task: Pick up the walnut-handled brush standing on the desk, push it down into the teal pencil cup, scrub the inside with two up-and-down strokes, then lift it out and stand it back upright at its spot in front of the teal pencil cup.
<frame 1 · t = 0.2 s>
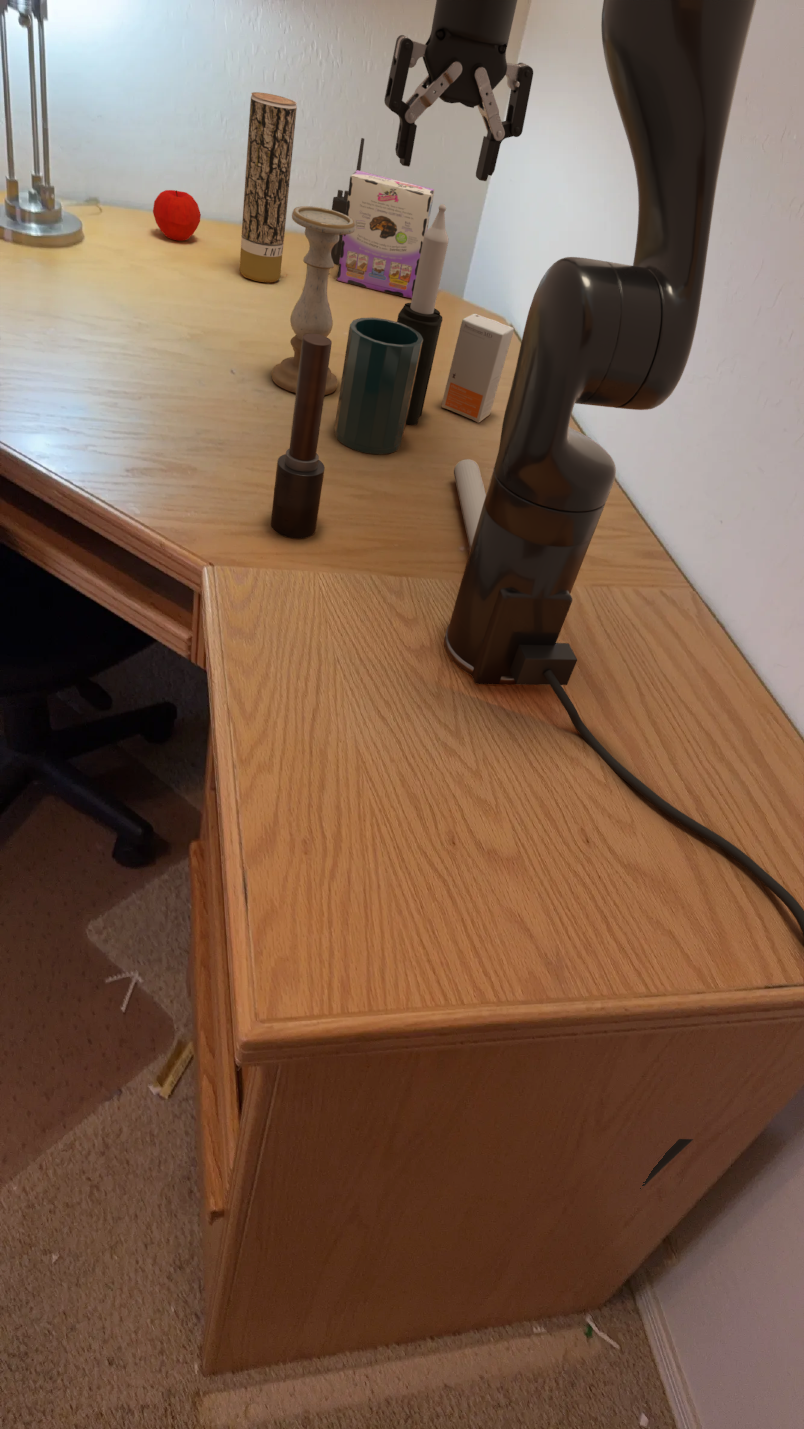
hand: (443, 171, 92), 29 cm above the table, tool pointing down, fingers open, 8 cm apart
teal pencil cup: (367, 438, 109), on the table
candy box: (376, 287, 155), on the table
apple: (176, 239, 153), on the table
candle: (400, 415, 116), on the table
cosmetic box: (465, 413, 121), on the table
walkie-talkie: (339, 263, 162), on the table
paper tube: (259, 277, 146), on the table
brush: (293, 526, 90), on the table
candle holder: (304, 384, 118), on the table
tube: (475, 539, 96), on the table
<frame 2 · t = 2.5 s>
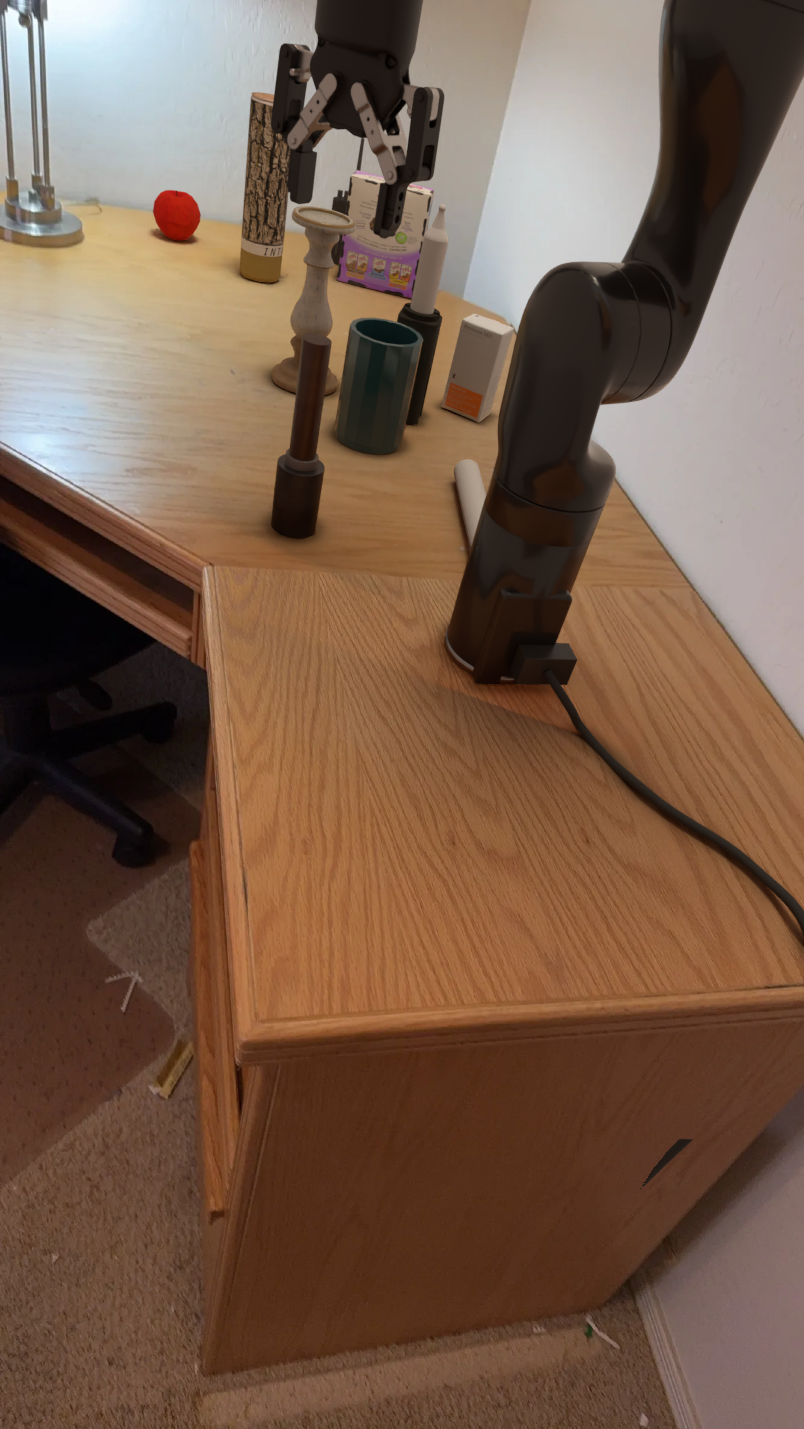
hand: (341, 218, 72), 28 cm above the table, tool pointing down, fingers open, 8 cm apart
nothing on the table moved.
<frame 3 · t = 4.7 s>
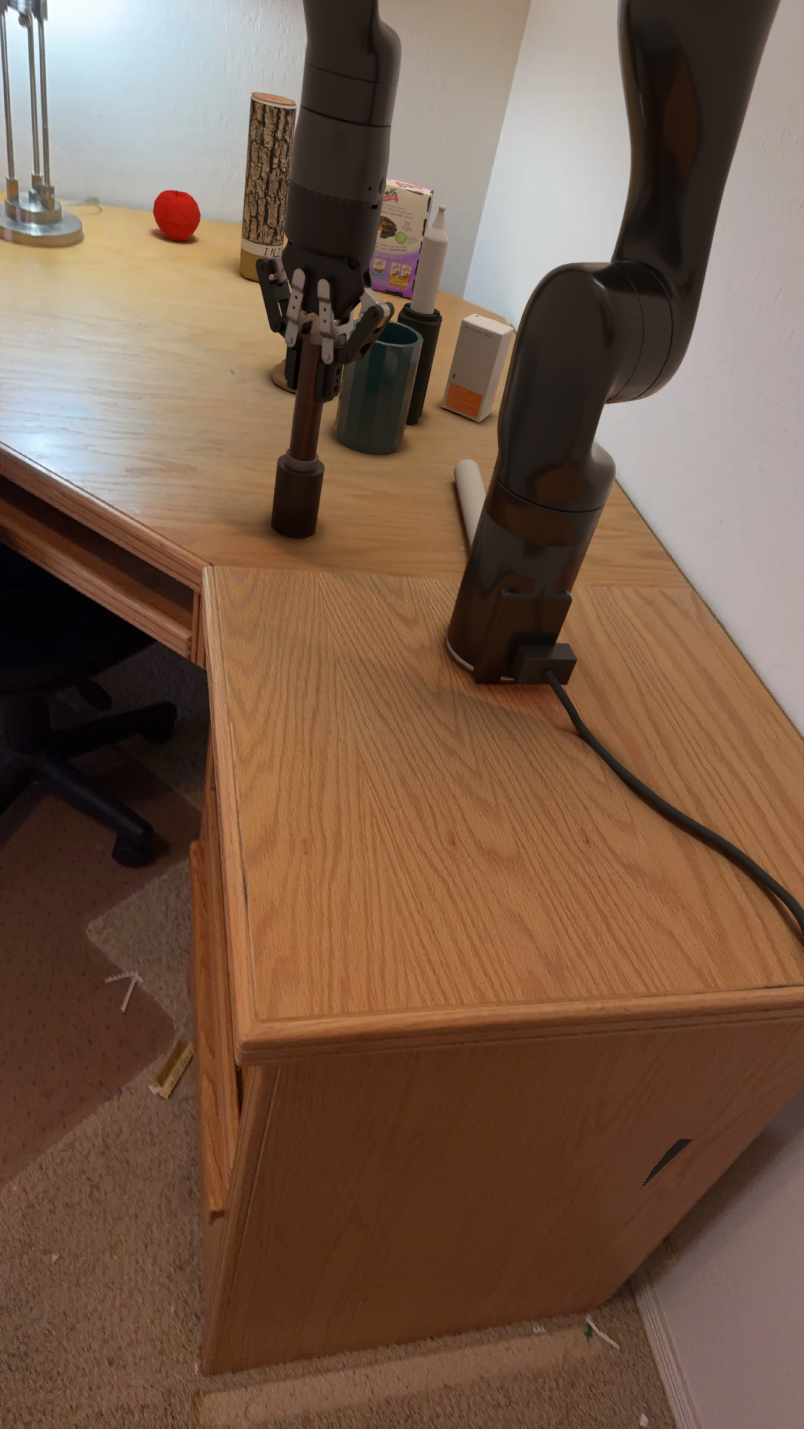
hand: (310, 393, 81), 14 cm above the table, tool pointing down, fingers closed on brush, 2 cm apart
brush: (293, 526, 90), on the table, touching gripper
everything else where it was.
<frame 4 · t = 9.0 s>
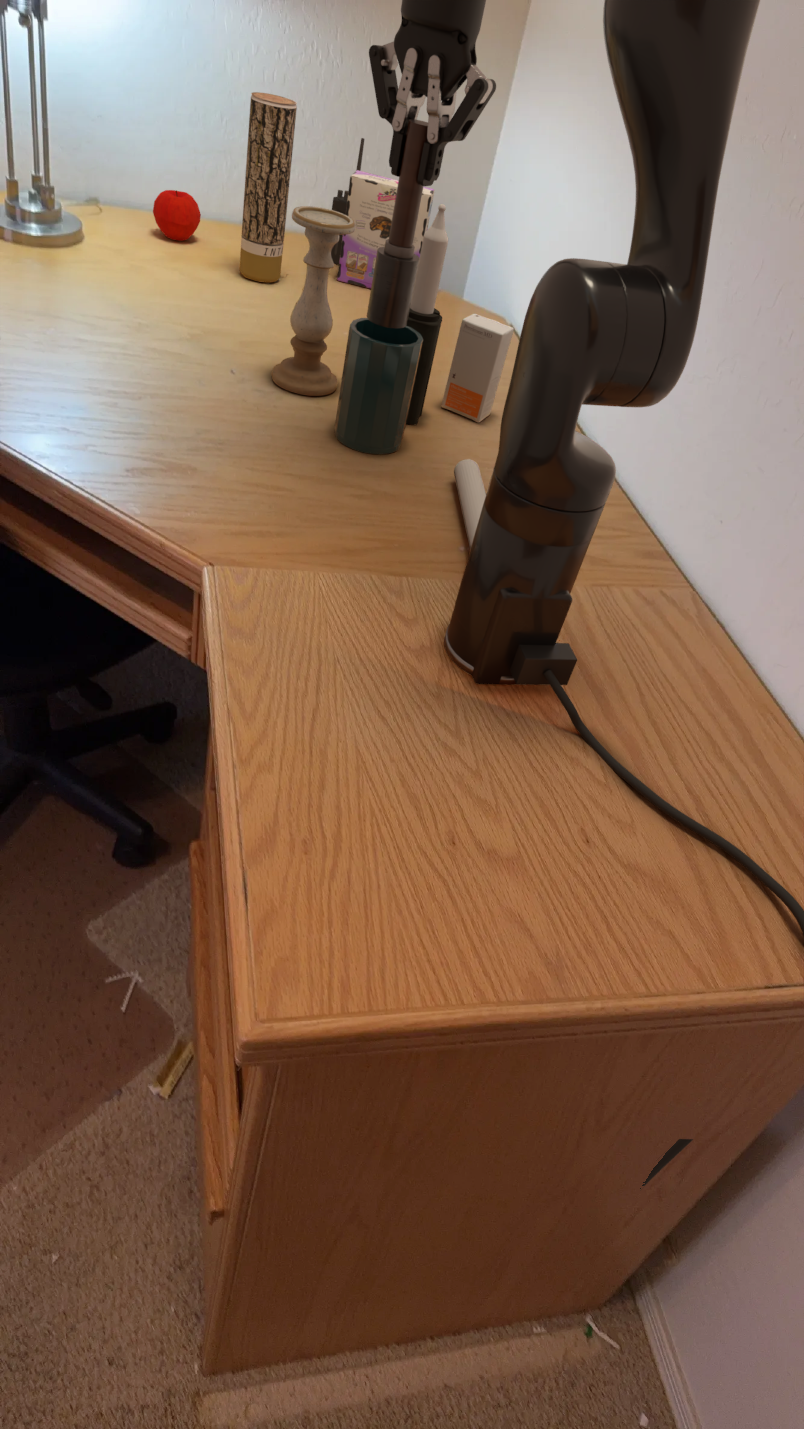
hand: (412, 179, 89), 28 cm above the table, tool pointing down, fingers closed on brush, 2 cm apart
brush: (386, 320, 99), point 14 cm above the table, touching gripper
everything else where it was.
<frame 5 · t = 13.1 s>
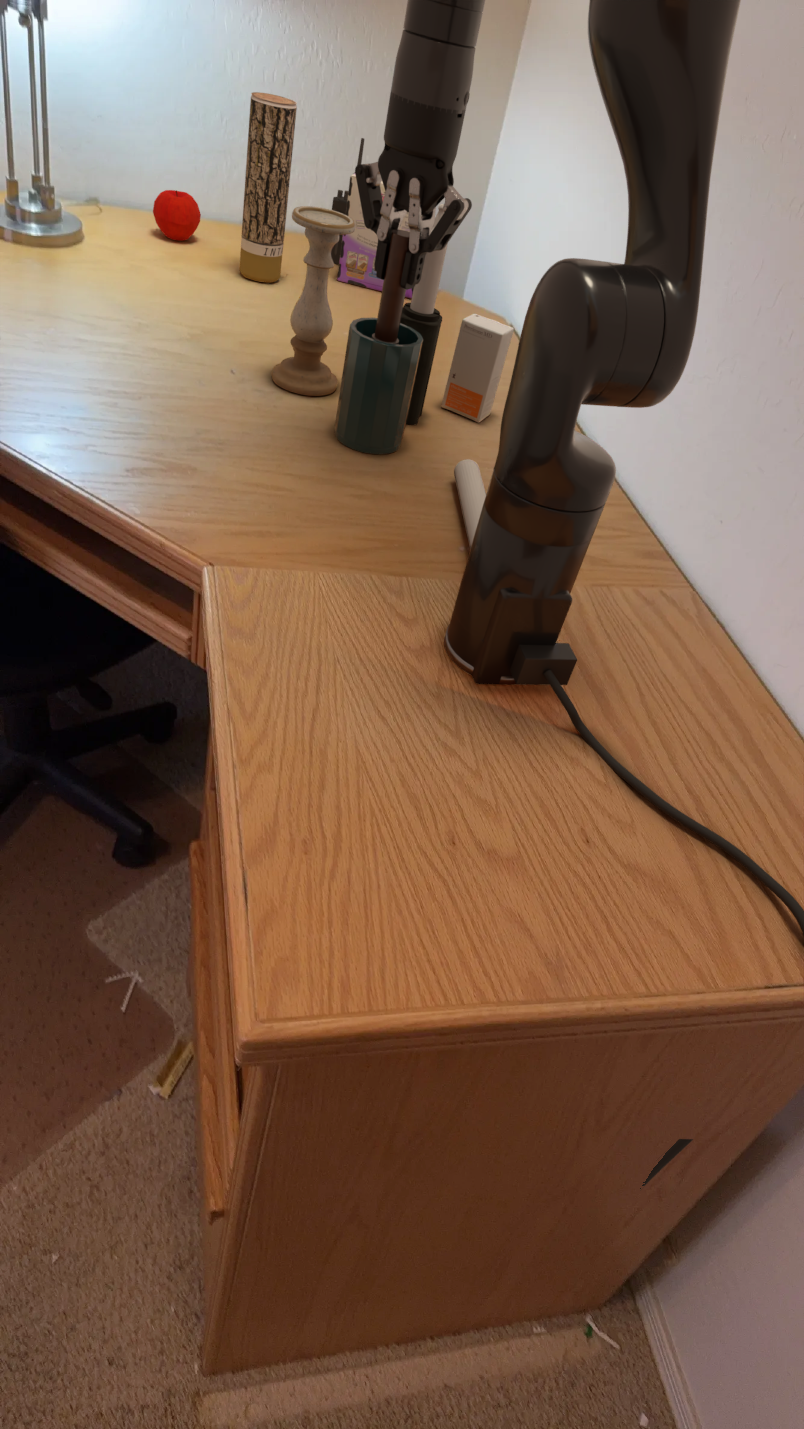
hand: (395, 281, 97), 18 cm above the table, tool pointing down, fingers closed on brush, 2 cm apart
brush: (373, 404, 106), point 4 cm above the table, touching gripper
everything else where it was.
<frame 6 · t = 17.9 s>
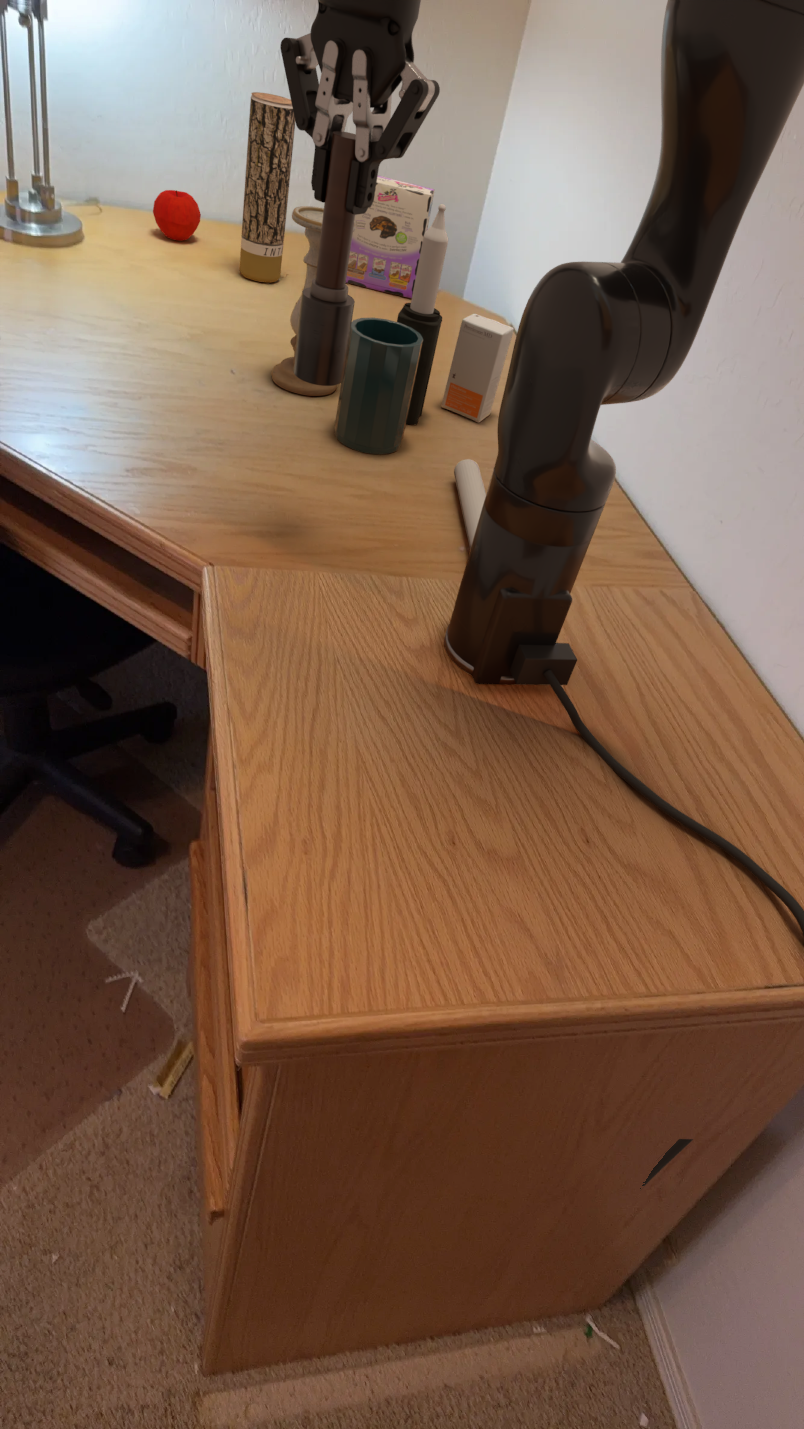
hand: (340, 205, 72), 29 cm above the table, tool pointing down, fingers closed on brush, 2 cm apart
brush: (318, 375, 81), point 15 cm above the table, touching gripper
everything else where it was.
when the fingers open (14 cm above the table, at t = 21.5 s): brush stays where it is, on the table.
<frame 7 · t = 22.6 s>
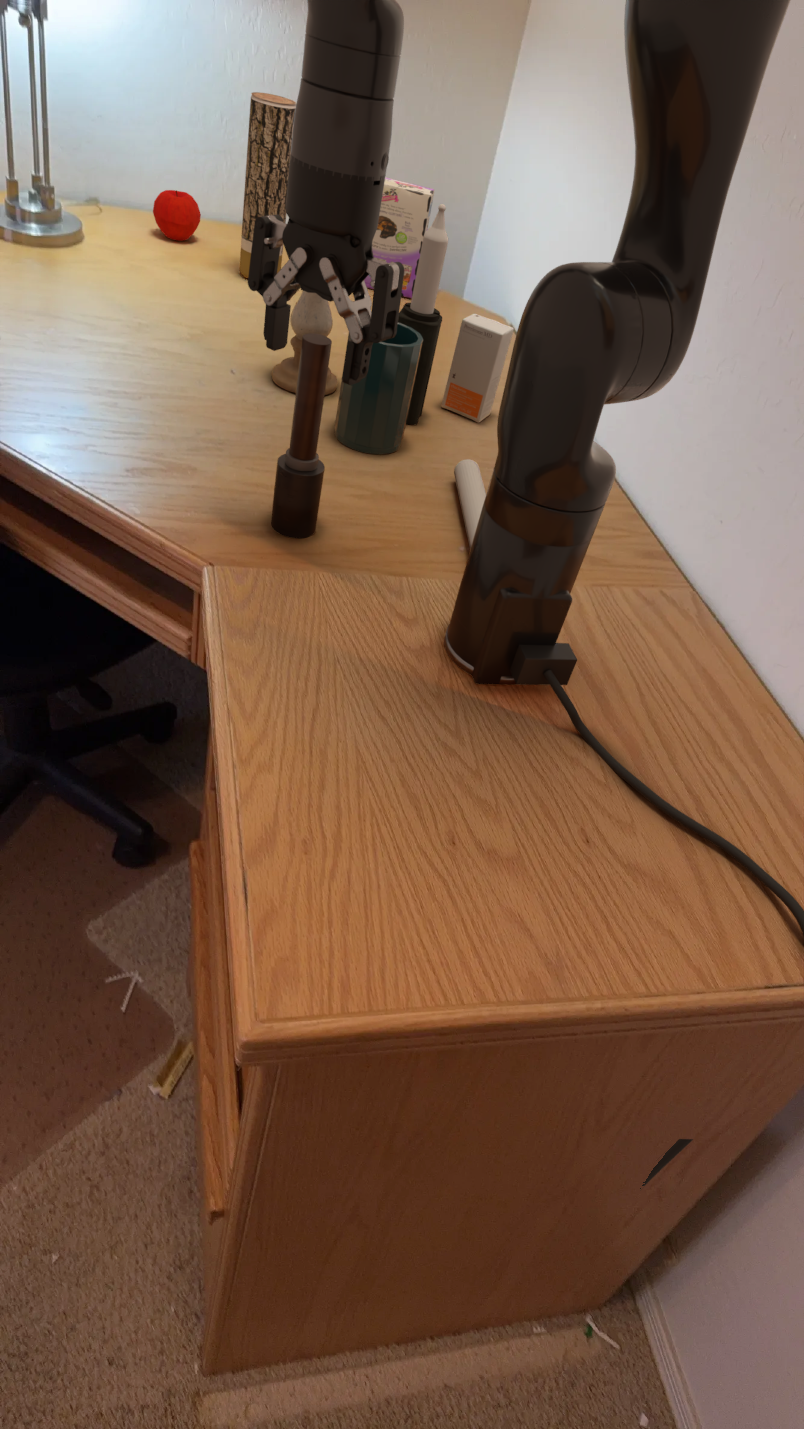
hand: (313, 364, 79), 17 cm above the table, tool pointing down, fingers open, 8 cm apart
brush: (293, 526, 90), on the table
everything else where it was.
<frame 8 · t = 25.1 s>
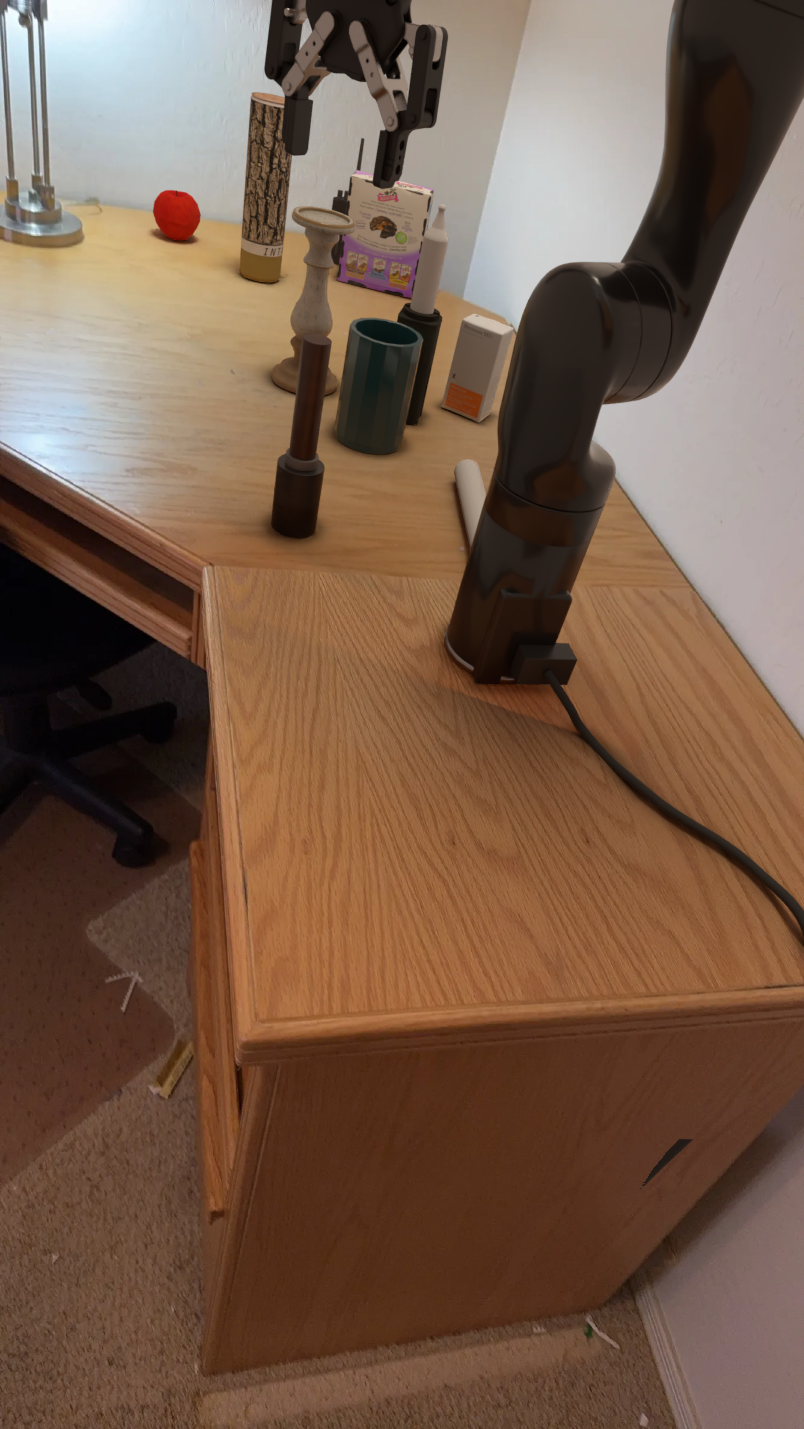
hand: (338, 170, 69), 32 cm above the table, tool pointing down, fingers open, 8 cm apart
nothing on the table moved.
at the end: brush inside the target area on the table beside the teal pencil cup (0.1 cm from its centre), on the table; brush tilted 0°; the gripper is holding nothing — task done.
